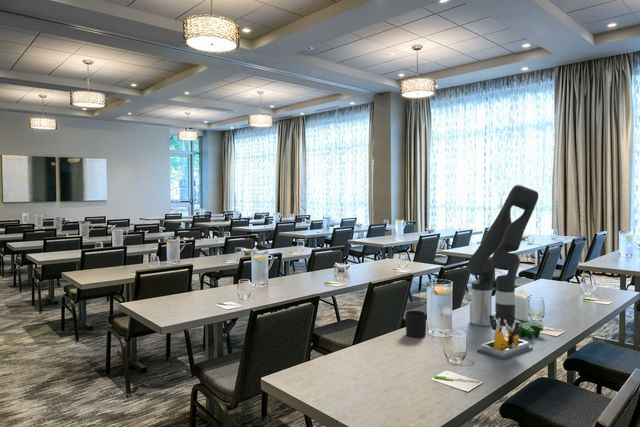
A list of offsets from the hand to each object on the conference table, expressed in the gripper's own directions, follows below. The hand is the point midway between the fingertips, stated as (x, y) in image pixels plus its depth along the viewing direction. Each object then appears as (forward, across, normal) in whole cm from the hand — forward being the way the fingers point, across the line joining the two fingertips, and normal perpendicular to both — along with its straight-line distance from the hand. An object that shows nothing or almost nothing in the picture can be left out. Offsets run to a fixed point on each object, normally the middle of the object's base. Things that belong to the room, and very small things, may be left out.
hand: (505, 342), depth 186 cm
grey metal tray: (+3, 0, 0) cm, 3 cm away
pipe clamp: (+1, 0, 0) cm, 1 cm away
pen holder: (+4, -36, -14) cm, 39 cm away
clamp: (+4, -4, +24) cm, 24 cm away
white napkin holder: (+4, -23, +45) cm, 51 cm away
